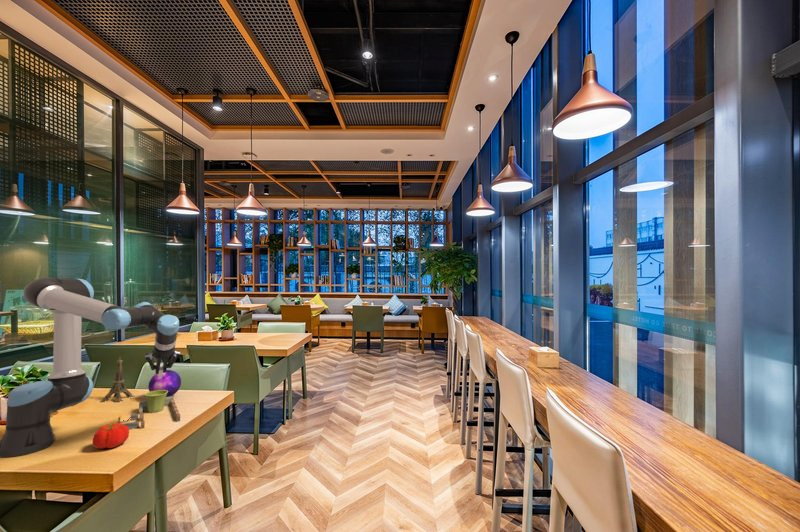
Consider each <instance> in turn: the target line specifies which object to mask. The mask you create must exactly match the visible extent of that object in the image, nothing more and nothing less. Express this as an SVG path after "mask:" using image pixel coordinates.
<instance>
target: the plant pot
mask: <svg viewBox="0 0 800 532" xmlns="http://www.w3.org/2000/svg"><path fill="white" fill-rule="evenodd" d="M167 393H168V391H167V390H157V391H151V392H149V391H148V392H145V393H144V396H145V398H146V400H147V405H148V409H147V412H148V413H151V412H154V413H156V412H161V411H163V410H164V407H165V406H164V402H165V397H166V395H167Z"/></svg>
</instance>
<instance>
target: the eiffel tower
mask: <svg viewBox="0 0 800 532" xmlns="http://www.w3.org/2000/svg"><path fill="white" fill-rule="evenodd" d="M123 362H124V360H123V359H121V357H119V359H118V360H116V363H117V365H116V371H115V375H114V379H113V380H112V382H111V383H112V386H111V388H110V389H109V391H108V393H107V394H106V395H105V396H104V397H103V398H102V399H101V400H100V401H99V403H106V402H109V401H110V398H111V397H112V398H115V400H114V403H121V402H124V400H123V398H122V395H121V394H122V393H123V394H124V395H125V398H126V397H127V398H126V399H132V398H134V397H135V395H133V394H132V393H131V391H129V390H128V389H127V387H126V385H125V379H124V375H123V365H122V364H123ZM129 397H130V398H129ZM131 397H132V398H131ZM108 400H109V401H108ZM105 401H106V402H105ZM120 401H121V402H120Z"/></svg>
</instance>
